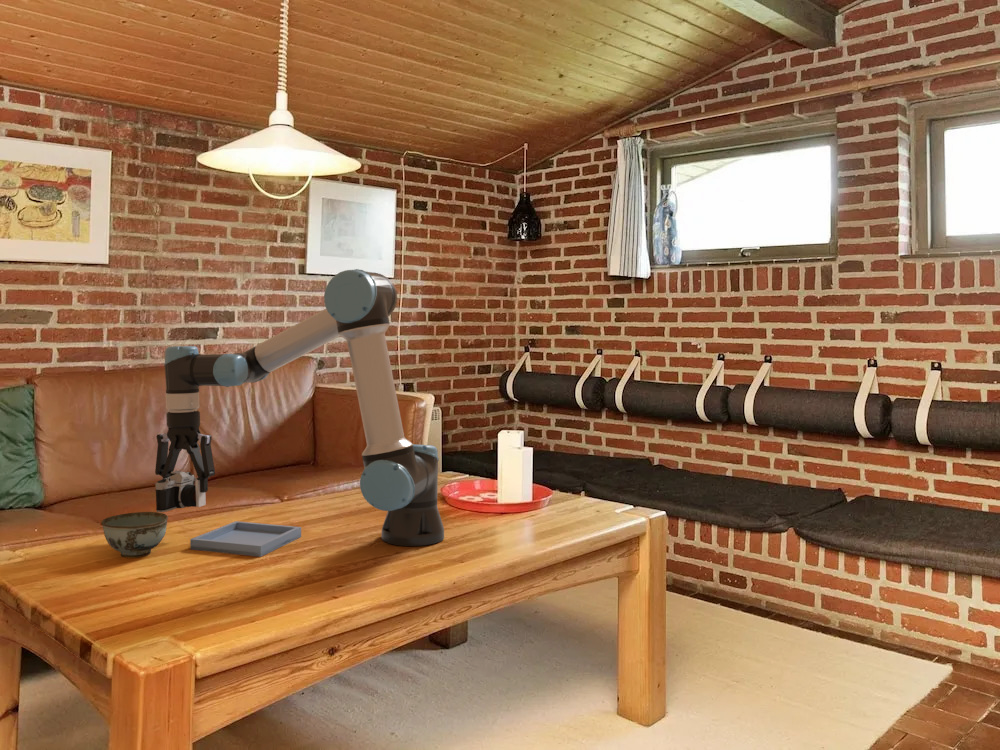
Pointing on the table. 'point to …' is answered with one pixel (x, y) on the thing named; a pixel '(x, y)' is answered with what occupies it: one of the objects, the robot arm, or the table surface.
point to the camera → (175, 492)
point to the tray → (246, 538)
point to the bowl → (135, 532)
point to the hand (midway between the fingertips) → (186, 504)
